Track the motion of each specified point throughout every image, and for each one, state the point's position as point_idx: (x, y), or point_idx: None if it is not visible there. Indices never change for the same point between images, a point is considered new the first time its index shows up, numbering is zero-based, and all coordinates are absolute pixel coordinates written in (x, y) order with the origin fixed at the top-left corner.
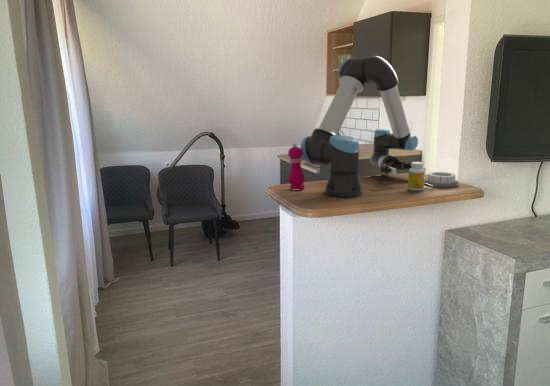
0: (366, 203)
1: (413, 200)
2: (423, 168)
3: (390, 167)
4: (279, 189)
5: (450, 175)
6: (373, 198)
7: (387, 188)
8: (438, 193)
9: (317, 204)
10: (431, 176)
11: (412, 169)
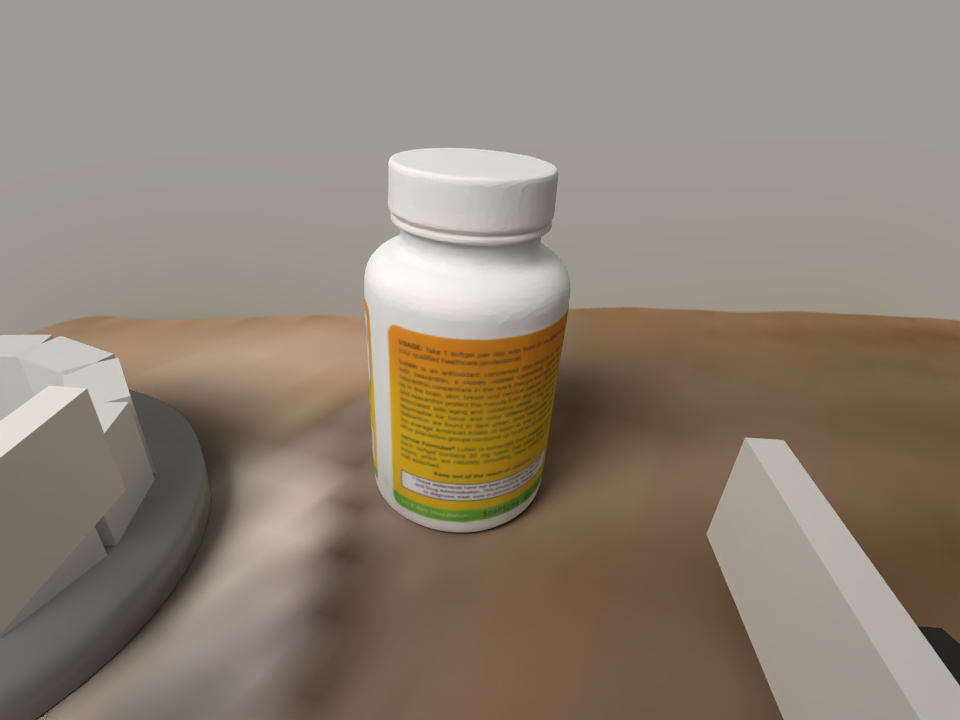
0: (920, 332)
1: (628, 308)
2: (86, 419)
3: (941, 667)
4: None
5: None
6: (898, 377)
7: None
8: None
9: None
10: (112, 440)
11: (548, 248)
